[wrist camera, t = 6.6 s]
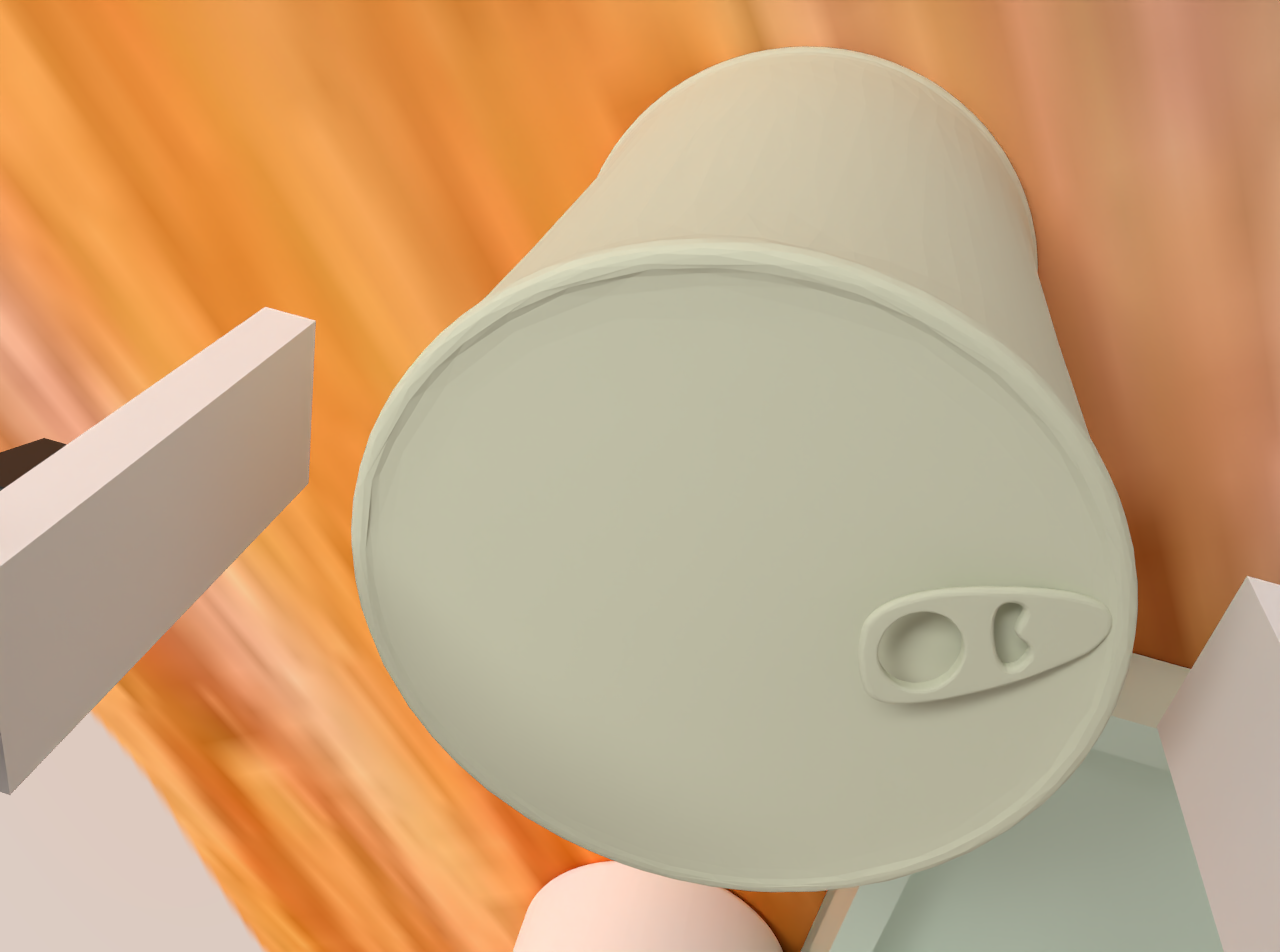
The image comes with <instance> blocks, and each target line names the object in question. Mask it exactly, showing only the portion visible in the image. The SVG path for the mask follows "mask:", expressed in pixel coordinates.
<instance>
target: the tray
mask: <svg viewBox="0 0 1280 952" xmlns="http://www.w3.org/2000/svg"><path fill="white" fill-rule="evenodd" d="M1190 670H1191V669H1189V668H1185V667H1181V666H1178V665H1174V664H1171V663H1167V662H1164V661H1160V660H1157V659H1153V658H1149V657H1146V656H1142V655H1139V654H1135V653H1132V656H1131V661H1130V666H1129V671H1128V673H1127V676H1126V679H1125V682H1124V685H1123V687H1122V690H1121V693H1120V696H1119V699H1118V702H1117V704H1116V707H1115V709H1114V711H1113V712H1112V714H1111V716H1110V718H1109V720H1108V722H1107V724H1106V726H1105V728H1104V730H1103V732H1102V734H1101V735H1100V737H1099V738H1098V740H1097V741H1096V743H1095V744H1094V746H1093V747H1092V749H1091V750H1090V752H1089V753H1088V755H1087V756H1086V758H1085V759H1084V761H1083V762H1082V763H1081V764H1080V766H1079V767H1078V768H1077V769H1076V770H1075V772H1074V773H1073V774H1072V775H1071V776H1070V778H1069V779H1068V780H1067V781H1066V782H1065V783H1064V784H1063V785H1062V786H1061V787H1060V788H1059V789H1058V790H1057V791H1056V792H1055V793H1054V794H1053V795H1052V796H1051V797H1050V798H1049V799H1048V800H1047V801H1045V802H1044V803H1043V804H1042V805H1041V806H1040V807H1039V808H1037V809H1036V810H1035V811H1033V812H1032V813H1031V814H1029V815H1028V816H1027V817H1025V818H1024V819H1022V820H1021V821H1020V822H1018V823H1017V824H1016V825H1014V826H1013V827H1012V828H1010V829H1009V830H1008V831H1006V832H1004V833H1002V834H1001V835H999V836H997V837H995V838H994V839H992V840H990V841H989V842H987V843H985V844H983V845H982V846H980V847H978V848H977V849H975V850H973V851H971V852H969V853H967V854H964V855H962V856H960V857H957V858H955V859H952V860H950V861H948V862H945V863H943V864H941V865H938V866H936V867H933V868H930V869H927V870H924V871H920V872H917V873H914V874H910V875H907V876H904V877H900V878H897V879H894V880H890V881H885V882H880V883H874V884H868V885H862V886H856V887H850V888H842V889H833V890H828V891H827V893H826V895H825V897H824V900H823V902H822V904H821V906H820V909H819V911H818V913H817V916H816V918H815V920H814V922H813V925H812V927H811V929H810V931H809V934H808V936H807V938H806V940H805V943H804V945H803V947H802V949H801V952H1224V951H1223V948H1222V944H1221V941H1220V937H1219V934H1218V931H1217V927H1216V924H1215V921H1214V917H1213V914H1212V911H1211V907H1210V904H1209V900H1208V897H1207V894H1206V890H1205V887H1204V884H1203V880H1202V877H1201V874H1200V870H1199V867H1198V864H1197V860H1196V857H1195V853H1194V850H1193V847H1192V843H1191V840H1190V837H1189V833H1188V830H1187V827H1186V823H1185V820H1184V816H1183V813H1182V810H1181V806H1180V803H1179V800H1178V796H1177V793H1176V790H1175V786H1174V783H1173V780H1172V776H1171V773H1170V769H1169V766H1168V763H1167V759H1166V756H1165V753H1164V749H1163V746H1162V743H1161V739H1160V736H1159V732H1158V729H1157V725H1158V724H1159V722H1160V720H1161V719H1162V717H1163V715H1164V714H1165V712H1166V710H1167V709H1168V707H1169V705H1170V704H1171V702H1172V700H1173V699H1174V697H1175V695H1176V694H1177V692H1178V690H1179V689H1180V687H1181V685H1182V684H1183V682H1184V680H1185V679H1186V677H1187V675H1188V673H1189V672H1190Z"/></svg>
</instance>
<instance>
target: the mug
mask: <svg viewBox="0 0 1280 952" xmlns="http://www.w3.org/2000/svg"><path fill="white" fill-rule="evenodd" d="M513 952H783V951H782V948H781V946H780V944H779V942H778V940H777V938H776V937H775V935H774V933H773V932H772V930H771V929H770V928H769V926H768V925H767V924H766V922H765V921H764V920H763V919H762V918H761V917H760V916H759V915H758V914H757V913H756V912H755V911H754V910H753V909H752V908H751V907H750V906H749V905H748V904H746V903H745V902H744V901H742V900H741V899H740V898H739V897H737V896H736V895H734V894H733V893H731V892H730V891H728V890H726V889H725V888H719V887H711V886H706V885H701V884H696V883H691V882H686V881H681V880H676V879H671V878H668V877H664V876H660V875H657V874H653V873H649V872H646V871H642V870H639V869H636V868H633V867H630V866H627V865H624V864H621V863H618V862H616V861H606V862H598V863H593V864H588V865H584V866H581V867H577V868H575V869H572V870H569V871H567V872H565V873H563V874H561V875H559V876H558V877H556V878H554V879H553V880H551V881H550V882H549V883H548V884H546V885H545V886H544V887H543V888H542V889H541V890H540V891H539V892H538V893H537V895H536V896H535V897H534V899H533V900H532V902H531V904H530V905H529V907H528V910H527V912H526V915H525V918H524V921H523V924H522V927H521V929H520V932H519V935H518V938H517V941H516V944H515V946H514V949H513Z"/></svg>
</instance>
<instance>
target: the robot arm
mask: <svg viewBox="0 0 1280 952" xmlns="http://www.w3.org/2000/svg"><path fill="white" fill-rule="evenodd" d="M315 326H316V321H315V320H311V319H308V318H304V317H300V316H297V315H293V314H289V313H286V312H282V311H278V310H275V309H271V308H268V307H264V308H263V309H261V310H260V311H259V312H257V313H256V314H254V315H253V316H251V317H250V318H248V319H247V320H246V321H244V322H243V323H241V324H240V325H238V326H237V327H236V328H234V329H233V330H231V331H230V332H228V333H227V334H225V335H224V336H223V337H221V338H220V339H218V340H217V341H215V342H214V343H213V344H211V345H210V346H208V347H207V348H205V349H204V350H202V351H201V352H200V353H198V354H197V355H195V356H194V357H192V358H191V359H190V360H188V361H187V362H185V363H184V364H182V365H181V366H179V367H178V368H177V369H175V370H174V371H172V372H171V373H169V374H168V375H166V376H165V377H164V378H162V379H161V380H159V381H158V382H156V383H155V384H154V385H152V386H151V387H149V388H148V389H146V390H145V391H143V392H142V393H141V394H139V395H138V396H136V397H135V398H133V399H132V400H131V401H129V402H128V403H126V404H125V405H123V406H122V407H120V408H119V409H118V410H116V411H115V412H113V413H112V414H110V415H109V416H108V417H106V418H105V419H103V420H102V421H100V422H99V423H97V424H96V425H95V426H93V427H92V428H90V429H89V430H87V431H86V432H85V433H83V434H82V435H80V436H79V437H77V438H76V439H74V440H73V441H72V442H70V443H69V444H67V445H66V444H63V443H60V442H56V441H53V440H49V439H46V438H43V439H40V440H37V441H34V442H31V443H28V444H25V445H22V446H19V447H16V448H13V449H10V450H7V451H4V452H1V453H0V792H2V793H6V794H9V795H10V794H11V793H12V792H13V791H14V790H15V789H16V788H17V787H18V786H19V785H20V784H21V783H22V782H23V781H24V780H25V778H27V777H28V776H29V775H30V773H31V772H32V771H33V770H34V769H35V768H36V767H37V766H38V765H39V764H40V763H41V762H42V761H43V760H44V759H45V758H46V757H47V756H48V755H49V754H50V753H51V752H52V751H53V749H54V748H55V747H56V746H57V745H58V744H59V743H60V742H61V741H62V740H63V739H64V738H65V737H66V736H67V735H68V734H69V733H70V732H71V731H72V730H73V729H74V728H75V726H76V725H77V724H78V723H79V722H80V721H81V720H82V719H83V718H84V717H85V716H86V715H87V714H88V713H89V712H90V711H91V710H92V709H93V708H94V707H95V706H96V705H97V704H98V703H99V701H100V700H101V699H102V698H103V697H104V696H105V695H106V694H107V693H108V692H109V691H110V690H111V689H112V688H113V687H114V686H115V685H116V684H117V683H118V682H119V681H120V680H121V678H122V677H123V676H124V675H125V674H126V673H127V672H128V671H129V670H130V669H131V668H132V667H133V666H134V665H135V664H136V663H137V662H138V661H139V660H140V659H141V658H142V657H143V656H144V654H145V653H146V652H147V651H148V650H149V649H150V648H151V647H152V646H153V645H154V644H155V643H156V642H157V641H158V640H159V639H160V638H161V637H162V636H163V635H164V634H165V633H166V632H167V630H168V629H169V628H170V627H171V626H172V625H173V624H174V623H175V622H176V621H177V620H178V619H179V618H180V617H181V616H182V615H183V614H184V613H185V612H186V611H187V610H188V609H189V607H190V606H191V605H192V604H193V603H194V602H195V601H196V600H197V599H198V598H199V597H200V596H201V595H202V594H203V593H204V592H205V591H206V590H207V589H208V588H209V587H210V586H211V585H212V583H213V582H214V581H215V580H216V579H217V578H218V577H219V576H220V575H221V574H222V573H223V572H224V571H225V570H226V569H227V568H228V567H229V566H230V565H231V564H232V563H233V562H234V561H235V559H236V558H237V557H238V556H239V555H240V554H241V553H242V552H243V551H244V550H245V549H246V548H247V547H248V546H249V545H250V544H251V543H252V542H253V541H254V540H255V539H256V538H257V536H258V535H259V534H260V533H261V532H262V531H263V530H264V529H265V528H266V527H267V526H268V525H269V524H270V523H271V522H272V521H273V520H274V519H275V518H276V517H277V516H278V515H279V514H280V512H281V511H282V510H283V509H284V508H285V507H286V506H287V505H288V504H289V503H290V502H291V501H292V500H293V499H294V498H295V497H296V496H297V495H298V494H299V493H300V492H301V491H302V490H303V488H304V487H305V486H306V485H307V484H308V481H309V459H310V437H311V415H312V393H313V370H314V348H315ZM1157 729H1158V732H1159V736H1160V739H1161V743H1162V746H1163V749H1164V753H1165V756H1166V759H1167V763H1168V766H1169V769H1170V773H1171V776H1172V780H1173V783H1174V786H1175V790H1176V793H1177V796H1178V800H1179V803H1180V806H1181V810H1182V813H1183V816H1184V820H1185V823H1186V827H1187V830H1188V833H1189V837H1190V840H1191V843H1192V847H1193V850H1194V853H1195V857H1196V860H1197V864H1198V867H1199V870H1200V874H1201V877H1202V880H1203V884H1204V887H1205V890H1206V894H1207V897H1208V900H1209V904H1210V907H1211V911H1212V914H1213V917H1214V921H1215V924H1216V927H1217V931H1218V934H1219V937H1220V941H1221V944H1222V948H1223V951H1224V952H1280V585H1278V584H1275V583H1271V582H1267V581H1264V580H1260V579H1256V578H1253V577H1249V576H1247V577H1246V578H1245V580H1244V582H1243V583H1242V585H1241V587H1240V588H1239V590H1238V592H1237V593H1236V595H1235V597H1234V598H1233V600H1232V602H1231V603H1230V605H1229V607H1228V608H1227V610H1226V612H1225V613H1224V615H1223V617H1222V618H1221V620H1220V622H1219V623H1218V625H1217V627H1216V628H1215V630H1214V632H1213V633H1212V635H1211V637H1210V638H1209V640H1208V642H1207V643H1206V645H1205V647H1204V648H1203V650H1202V652H1201V653H1200V655H1199V657H1198V658H1197V660H1196V662H1195V663H1194V665H1193V667H1192V668H1191V670H1190V672H1189V673H1188V675H1187V677H1186V679H1185V680H1184V682H1183V684H1182V685H1181V687H1180V689H1179V690H1178V692H1177V694H1176V695H1175V697H1174V699H1173V700H1172V702H1171V704H1170V705H1169V707H1168V709H1167V710H1166V712H1165V714H1164V715H1163V717H1162V719H1161V720H1160V722H1159V724H1158V725H1157Z"/></svg>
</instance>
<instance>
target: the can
mask: <svg viewBox="0 0 1280 952" xmlns="http://www.w3.org/2000/svg"><path fill="white" fill-rule="evenodd" d="M1037 272H1038V261H1037V244H1036V236H1035V231H1034V226H1033V220H1032V215H1031V212H1030V209H1029V205H1028V202H1027V198H1026V196H1025V193H1024V190H1023V188H1022V185H1021V183H1020V180H1019V178H1018V176H1017V174H1016V172H1015V170H1014V168H1013V167H1012V165H1011V163H1010V161H1009V159H1008V158H1007V156H1006V154H1005V152H1004V151H1003V149H1002V148H1001V147H1000V145H999V144H998V143H997V141H996V140H995V138H994V137H993V136H992V134H991V133H990V132H989V130H988V129H987V128H986V127H985V126H984V125H983V123H982V122H981V121H980V120H979V119H978V118H977V117H976V116H975V115H974V114H973V113H972V112H971V111H970V110H969V109H968V108H967V107H965V106H964V105H963V104H962V103H961V102H960V101H959V100H957V99H956V98H955V97H954V96H952V95H951V94H950V93H948V92H947V91H946V90H944V89H943V88H942V87H940V86H939V85H937V84H935V83H934V82H932V81H931V80H929V79H927V78H926V77H924V76H922V75H920V74H918V73H916V72H914V71H912V70H910V69H908V68H906V67H903V66H901V65H898V64H896V63H894V62H891V61H888V60H885V59H882V58H879V57H876V56H873V55H869V54H865V53H861V52H856V51H851V50H846V49H838V48H829V47H786V48H778V49H770V50H764V51H759V52H754V53H750V54H746V55H743V56H739V57H736V58H733V59H730V60H727V61H724V62H721V63H719V64H717V65H714V66H712V67H710V68H707V69H705V70H703V71H701V72H699V73H698V74H696V75H694V76H692V77H690V78H688V79H686V80H685V81H683V82H682V83H680V84H679V85H677V86H675V87H674V88H672V89H671V90H669V91H668V92H667V93H665V94H664V95H663V96H662V97H660V98H659V99H658V100H657V101H655V102H654V103H653V104H652V105H651V106H650V107H648V108H647V109H646V110H645V111H644V112H643V113H642V114H641V115H640V116H639V117H638V118H637V119H636V120H635V121H634V123H633V124H632V125H631V126H630V127H629V128H628V129H627V131H626V132H625V133H624V134H623V136H622V137H621V138H620V140H619V141H618V142H617V144H616V145H615V146H614V148H613V150H612V151H611V153H610V155H609V156H608V158H607V160H606V161H605V163H604V164H603V166H602V168H601V170H600V172H599V174H598V177H597V178H596V179H595V180H594V181H593V183H592V184H591V185H590V186H589V187H588V188H587V189H586V190H585V191H584V193H583V194H582V195H581V196H580V197H579V198H578V199H577V200H576V201H575V202H574V204H573V205H572V206H571V207H570V208H569V209H568V210H567V211H566V212H565V213H564V214H563V216H562V217H561V218H560V219H559V220H558V221H557V222H556V223H555V224H554V225H553V227H552V228H551V229H550V230H549V231H548V232H547V233H546V234H545V235H544V236H543V238H542V239H541V240H540V241H539V242H538V243H537V244H536V245H535V246H534V247H533V249H532V250H531V251H530V252H529V253H528V254H527V255H526V256H525V257H524V258H523V259H522V260H521V261H520V262H519V263H518V264H517V265H516V266H515V267H514V268H513V269H512V270H511V271H510V272H509V273H508V274H507V275H506V276H505V277H504V279H503V280H502V281H501V282H500V283H499V284H498V285H497V286H496V287H495V288H494V289H493V290H492V291H491V292H490V293H489V294H488V295H487V296H486V297H485V298H484V299H483V300H482V301H481V302H480V303H478V304H477V305H475V306H474V307H473V308H471V309H470V310H468V311H467V312H466V313H464V314H463V315H461V316H460V317H459V318H458V319H457V320H456V321H454V322H453V323H452V324H451V325H450V326H448V327H447V328H446V329H445V330H444V331H442V332H441V333H440V334H439V335H438V336H437V337H436V338H435V339H434V340H433V342H432V343H431V344H430V345H429V346H428V347H427V348H426V349H425V350H424V351H423V352H422V353H421V354H420V356H419V357H418V358H417V359H416V360H415V362H414V363H413V364H412V365H411V366H410V368H409V369H408V370H407V372H406V373H405V374H404V376H403V377H402V379H401V380H400V381H399V383H398V384H397V385H396V387H395V388H394V390H393V391H392V393H391V395H390V396H389V398H388V400H387V402H386V403H385V405H384V407H383V409H382V411H381V413H380V415H379V417H378V419H377V421H376V423H375V425H374V427H373V429H372V432H371V434H370V436H369V439H368V442H367V446H366V449H365V452H364V455H363V458H362V461H361V464H360V469H359V474H358V479H357V484H356V489H355V494H354V499H353V512H352V527H351V533H352V552H353V561H354V570H355V579H356V584H357V588H358V593H359V598H360V603H361V607H362V610H363V613H364V616H365V619H366V622H367V624H368V627H369V630H370V632H371V635H372V637H373V640H374V642H375V645H376V647H377V650H378V652H379V654H380V657H381V659H382V662H383V664H384V666H385V668H386V669H387V671H388V673H389V674H390V676H391V678H392V679H393V681H394V683H395V684H396V686H397V688H398V689H399V691H400V693H401V694H402V696H403V698H404V699H405V701H406V703H407V704H408V706H409V707H410V709H411V710H412V711H413V712H414V714H415V715H416V716H417V718H418V719H419V720H420V721H421V723H422V724H423V725H424V727H425V728H426V729H427V730H428V732H429V733H430V734H431V736H432V737H433V738H434V739H435V740H436V741H437V742H438V743H439V744H440V745H441V746H442V747H443V749H444V750H445V751H446V752H447V753H448V754H449V755H450V756H451V757H452V758H453V759H454V760H455V761H456V762H457V763H458V764H459V765H460V766H461V767H462V768H463V769H465V770H466V771H467V772H468V773H469V774H470V775H471V776H472V777H474V778H475V779H476V780H477V781H478V782H479V783H480V784H482V785H483V786H484V787H485V788H486V789H487V790H488V791H490V792H491V793H493V794H494V795H495V796H497V797H498V798H500V799H501V800H503V801H504V802H505V803H507V804H508V805H510V806H511V807H513V808H514V809H515V810H517V811H518V812H520V813H521V814H522V815H524V816H525V817H527V818H528V819H530V820H532V821H534V822H535V823H537V824H539V825H541V826H542V827H544V828H546V829H548V830H549V831H551V832H553V833H555V834H556V835H558V836H560V837H562V838H563V839H566V840H568V841H570V842H572V843H574V844H576V845H579V846H581V847H583V848H585V849H587V850H589V851H592V852H594V853H597V854H599V855H601V856H604V857H606V858H609V859H611V860H614V861H616V862H618V863H621V864H624V865H627V866H630V867H633V868H636V869H639V870H642V871H646V872H649V873H653V874H657V875H660V876H664V877H668V878H671V879H676V880H681V881H686V882H691V883H696V884H701V885H706V886H711V887H719V888H728V889H737V890H745V891H759V892H815V891H824V890H833V889H842V888H850V887H856V886H862V885H868V884H874V883H880V882H885V881H890V880H894V879H897V878H900V877H904V876H907V875H910V874H914V873H917V872H920V871H924V870H927V869H930V868H933V867H936V866H938V865H941V864H943V863H945V862H948V861H950V860H952V859H955V858H957V857H960V856H962V855H964V854H967V853H969V852H971V851H973V850H975V849H977V848H978V847H980V846H982V845H983V844H985V843H987V842H989V841H990V840H992V839H994V838H995V837H997V836H999V835H1001V834H1002V833H1004V832H1006V831H1008V830H1009V829H1010V828H1012V827H1013V826H1014V825H1016V824H1017V823H1018V822H1020V821H1021V820H1022V819H1024V818H1025V817H1027V816H1028V815H1029V814H1031V813H1032V812H1033V811H1035V810H1036V809H1037V808H1039V807H1040V806H1041V805H1042V804H1043V803H1044V802H1045V801H1047V800H1048V799H1049V798H1050V797H1051V796H1052V795H1053V794H1054V793H1055V792H1056V791H1057V790H1058V789H1059V788H1060V787H1061V786H1062V785H1063V784H1064V783H1065V782H1066V781H1067V780H1068V779H1069V778H1070V776H1071V775H1072V774H1073V773H1074V772H1075V770H1076V769H1077V768H1078V767H1079V766H1080V764H1081V763H1082V762H1083V761H1084V759H1085V758H1086V756H1087V755H1088V753H1089V752H1090V750H1091V749H1092V747H1093V746H1094V744H1095V743H1096V741H1097V740H1098V738H1099V737H1100V735H1101V734H1102V732H1103V730H1104V728H1105V726H1106V724H1107V722H1108V720H1109V718H1110V716H1111V714H1112V712H1113V711H1114V709H1115V707H1116V704H1117V702H1118V699H1119V696H1120V693H1121V690H1122V687H1123V685H1124V682H1125V679H1126V676H1127V673H1128V671H1129V666H1130V661H1131V656H1132V650H1133V645H1134V639H1135V633H1136V623H1137V611H1138V581H1137V574H1136V566H1135V558H1134V548H1133V544H1132V540H1131V536H1130V532H1129V528H1128V524H1127V520H1126V516H1125V513H1124V510H1123V507H1122V504H1121V501H1120V498H1119V495H1118V492H1117V490H1116V488H1115V486H1114V484H1113V482H1112V479H1111V477H1110V475H1109V473H1108V471H1107V469H1106V467H1105V465H1104V463H1103V461H1102V459H1101V457H1100V455H1099V453H1098V451H1097V449H1096V447H1095V445H1094V443H1093V442H1092V440H1091V438H1090V436H1089V433H1088V430H1087V427H1086V424H1085V421H1084V418H1083V415H1082V412H1081V409H1080V406H1079V403H1078V400H1077V397H1076V394H1075V391H1074V388H1073V385H1072V382H1071V379H1070V376H1069V373H1068V370H1067V367H1066V364H1065V361H1064V358H1063V355H1062V352H1061V349H1060V346H1059V343H1058V340H1057V337H1056V333H1055V330H1054V326H1053V323H1052V320H1051V316H1050V313H1049V310H1048V306H1047V303H1046V300H1045V296H1044V293H1043V290H1042V286H1041V283H1040V280H1039V276H1038V273H1037Z"/></svg>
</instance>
